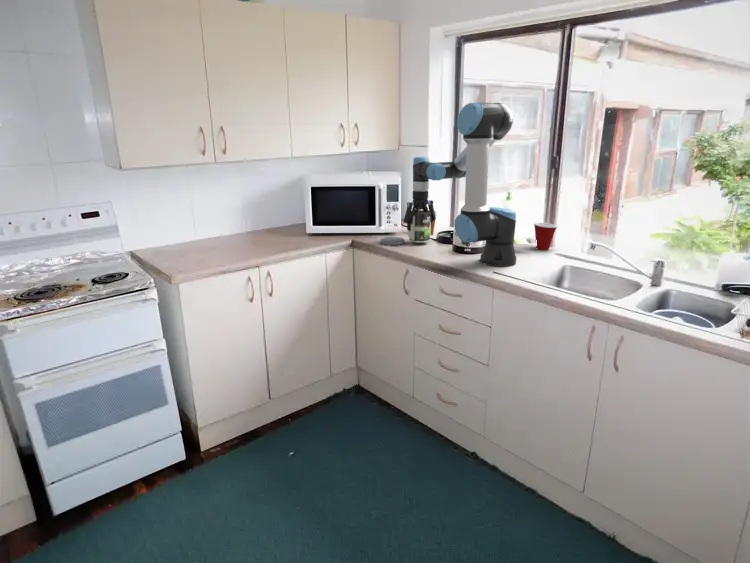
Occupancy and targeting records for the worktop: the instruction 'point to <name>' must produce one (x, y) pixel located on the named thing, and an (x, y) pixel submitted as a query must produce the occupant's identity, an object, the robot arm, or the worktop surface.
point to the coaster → (392, 241)
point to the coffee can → (421, 227)
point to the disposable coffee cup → (433, 224)
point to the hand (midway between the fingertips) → (419, 235)
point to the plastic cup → (544, 235)
